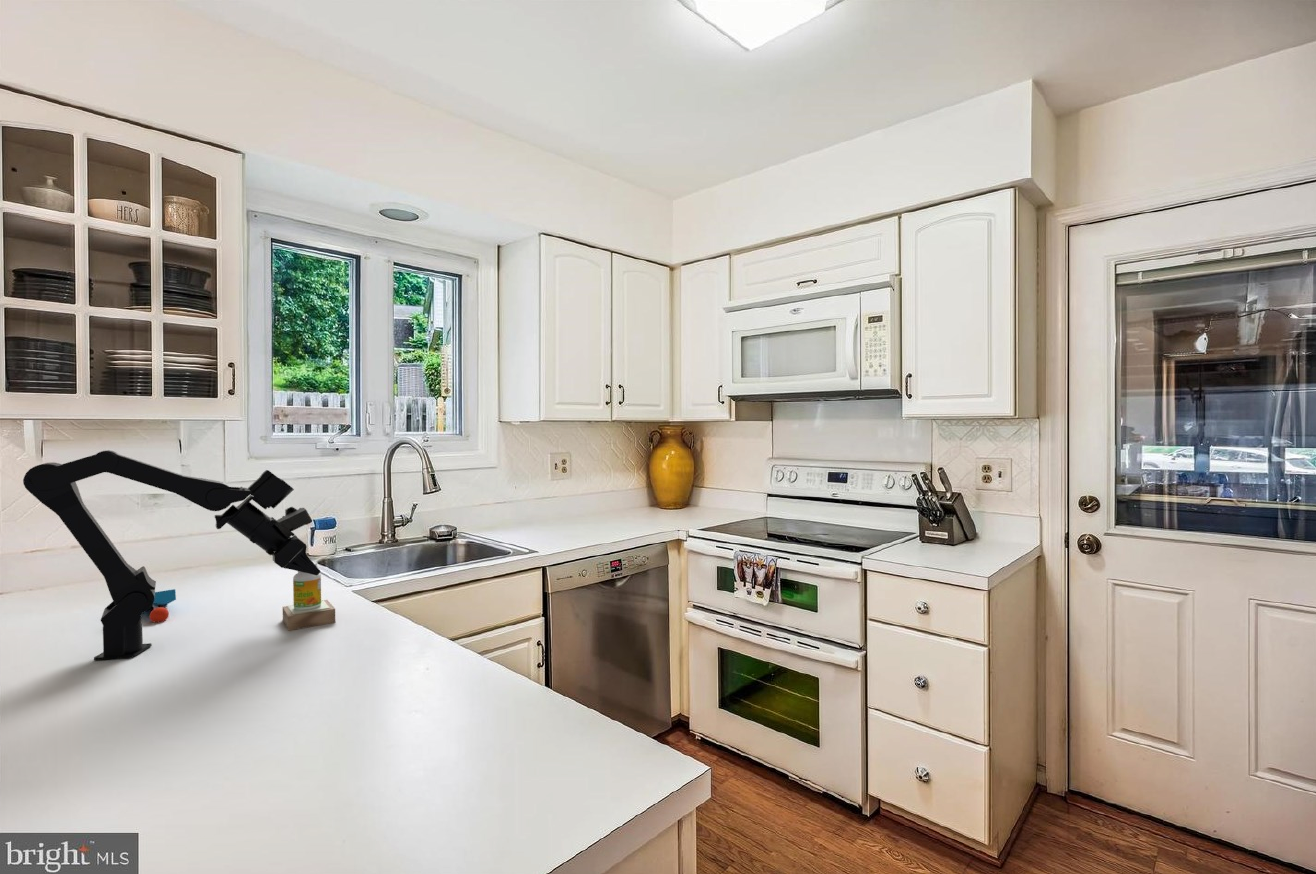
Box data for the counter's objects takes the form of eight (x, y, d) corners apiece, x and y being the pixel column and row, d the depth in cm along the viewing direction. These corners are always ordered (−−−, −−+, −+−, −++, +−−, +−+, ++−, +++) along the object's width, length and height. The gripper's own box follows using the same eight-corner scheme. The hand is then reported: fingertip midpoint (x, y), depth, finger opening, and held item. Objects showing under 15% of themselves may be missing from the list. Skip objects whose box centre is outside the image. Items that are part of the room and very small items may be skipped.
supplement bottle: (290, 611, 136) (289, 567, 136) (297, 604, 141) (296, 561, 141) (317, 609, 137) (317, 565, 137) (324, 602, 143) (323, 560, 142)
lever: (131, 630, 148) (140, 625, 136) (129, 600, 149) (138, 593, 137) (167, 623, 153) (180, 618, 141) (165, 594, 154) (177, 587, 142)
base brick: (288, 630, 133) (288, 615, 133) (282, 620, 140) (282, 605, 140) (335, 622, 139) (335, 607, 139) (327, 612, 146) (327, 598, 146)
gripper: (292, 501, 129) (351, 547, 136) (280, 493, 144) (334, 535, 151) (248, 543, 124) (311, 589, 131) (240, 530, 139) (297, 572, 146)
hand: (315, 569), depth 140 cm, fingers open, 9 cm apart
